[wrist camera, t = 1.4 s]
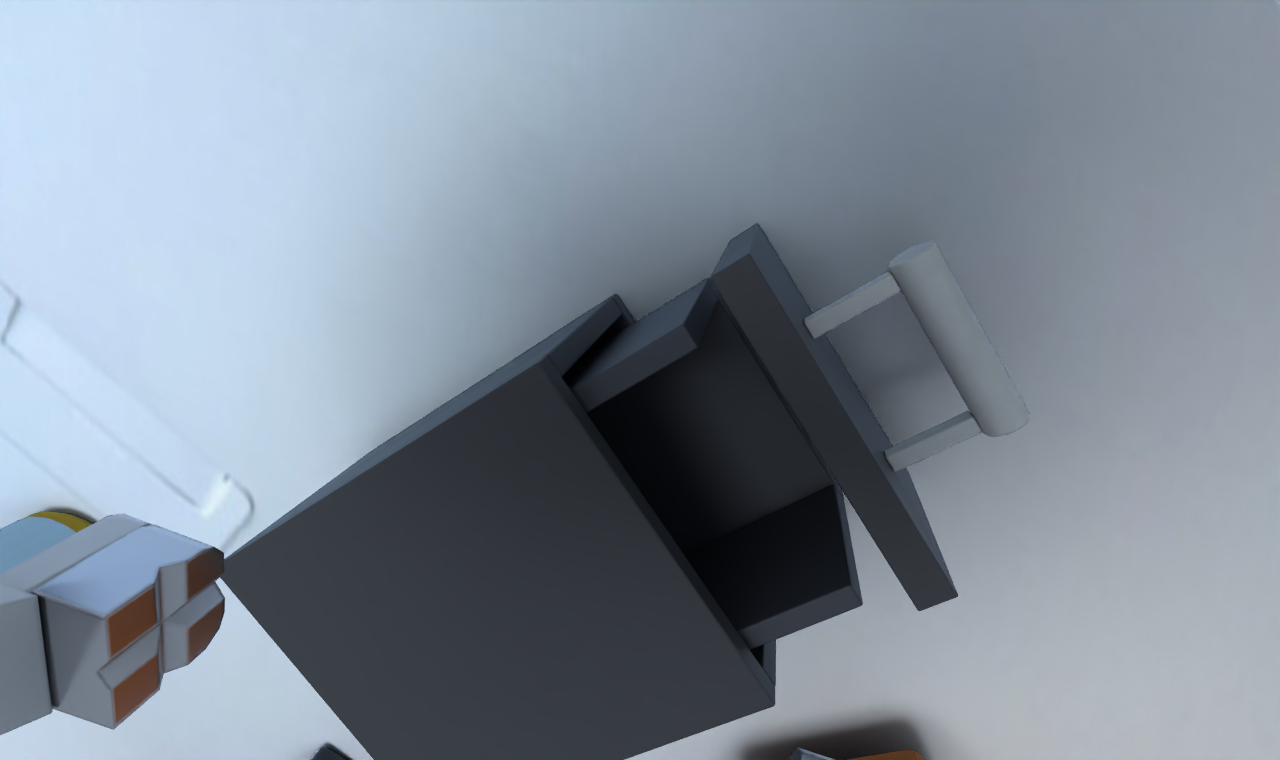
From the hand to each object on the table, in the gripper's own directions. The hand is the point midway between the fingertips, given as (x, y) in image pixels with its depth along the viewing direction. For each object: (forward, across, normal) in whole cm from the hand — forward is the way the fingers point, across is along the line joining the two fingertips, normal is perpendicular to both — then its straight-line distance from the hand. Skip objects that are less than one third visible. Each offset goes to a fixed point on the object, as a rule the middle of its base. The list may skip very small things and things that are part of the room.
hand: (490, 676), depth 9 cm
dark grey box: (+19, +3, +9) cm, 22 cm away
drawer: (+18, -3, +3) cm, 19 cm away
